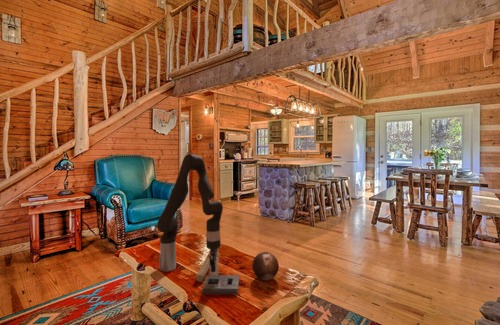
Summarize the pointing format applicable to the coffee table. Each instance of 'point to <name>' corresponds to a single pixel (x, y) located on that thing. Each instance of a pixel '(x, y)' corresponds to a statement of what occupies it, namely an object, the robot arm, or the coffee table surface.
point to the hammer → (204, 269)
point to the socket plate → (221, 284)
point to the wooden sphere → (265, 266)
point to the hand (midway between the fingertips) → (213, 269)
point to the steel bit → (215, 268)
